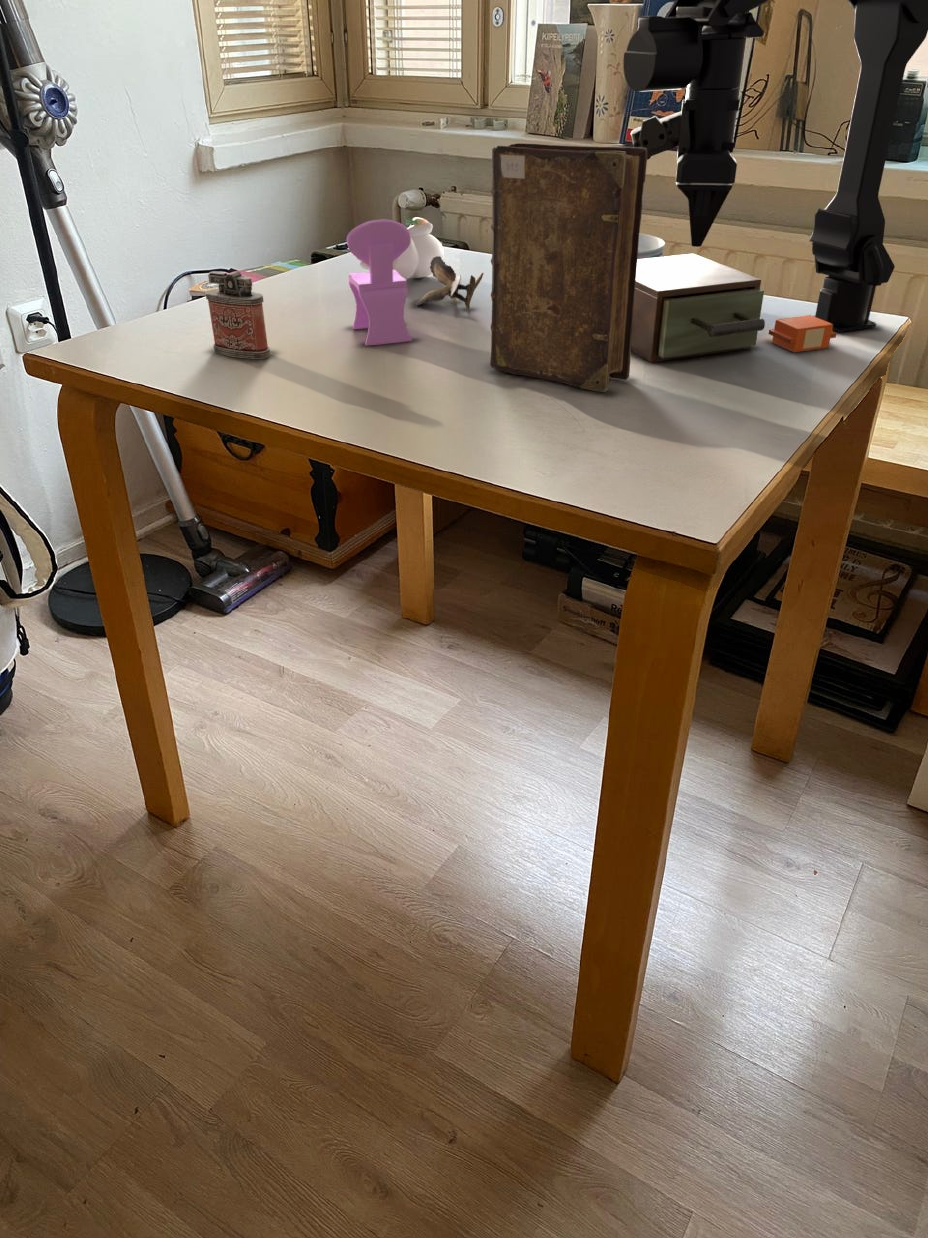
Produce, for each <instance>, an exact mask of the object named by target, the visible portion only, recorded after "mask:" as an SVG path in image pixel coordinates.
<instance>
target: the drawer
mask: <svg viewBox="0 0 928 1238" xmlns="http://www.w3.org/2000/svg"><path fill="white" fill-rule="evenodd" d="M764 295H765V290H763V289H761V288H760V289H751V290H747V288H739V289H730V290H721V291H713V292H704V293H696V294H687V295H679V296H670V297H662V298H663V301H662V310H661V320H660V330H659V339H658V349H659V353H658V356H660V357H661V358H670V357H677V356H684V355H692V354H699V353H706V352H713V351H720V350H728V349H735V348H742V347H749V346H751V347H755V346H756V345H757V339H758V334H759V333H758V332H761V331H764V329H765V326H766V323H765V320H764V319H763V318H762V317H761V314H762V308H763V302H764Z"/></svg>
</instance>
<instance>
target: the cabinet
mask: <svg viewBox="0 0 928 1238" xmlns="http://www.w3.org/2000/svg"><path fill="white" fill-rule="evenodd" d="M761 284H762V279H761V278H758V277H757V276H753V275H750V274H748V273H745V272H743V271H740V270H737V269H735V268H732V267H731V266H730V267H729V266H727V265H724V264H722V263H719V262H716V261H714V260H711V259H708V258H706V257H703V256H702V255H701V256H700V255H698V254H695V253H688V254H687V253H685V254H675V255H667V256H662V257H655V258H645V259H637V270H636V282H635V297H634V308H633V329H632V335H631V352H633V353H634V354H636V355H638V356H639V357H641V358H643V359H645V360H646V361H648V362H650V363H654V362H662V361H670V360H678V359H683V358H684V359H685V358H692V357H697V356H698V357H699V356H706V355H712V354H719V353H728V352H736V351H743V350H748V349H750V350H751V347H752V346H749V347H742V348H735V349H728V350H720V351H713V352H706V353H699V354H692V355H684V356H677V357H670V358H661V357H660V356H658V353H659V349H658V339H659V330H660V320H661V310H662V301H663V298H662V297H670V296H679V295H687V294H696V293H704V292H713V291H721V290H730V289H739V288H747V290H751V289H761Z"/></svg>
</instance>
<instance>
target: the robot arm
mask: <svg viewBox="0 0 928 1238" xmlns="http://www.w3.org/2000/svg"><path fill="white" fill-rule="evenodd" d="M846 1H847V2H848V4H849V5H850V7H851V9H852V10H853V12H854V25H853V40H854V45H855V47H856V51H857V54H858V58H859V62H860V69H859V76H858V81H857V87H856V90H855V91H856V92H855V96H854V101H853V106H852V112H851V118H850V122H849V127H848V133H847V138H846V143H845V149H844V153H843V154H844V155H843V160H842V164H841V169H840V175H839V180H838V184H837V185H838V186H837V191H836V193H835V195H834V196H833V198H832V200H830V202H829V203H828V205H827V206H826V207H825V208H817V210H816V212H815V214H814V220H813V221H814V224H813V230H812V233H811V235H810V237H809V242H811V244H812V246H811V251H812V252H811V253H812V255H813V256H814V266H815V273H816V274H819V275H820V274H822V275H826V276H824V278H823V285H822V288H821V289H820V290H819V294H818V299H817V305H816V311H815V315H813V316H814V317H816V318H819V319H821V320H824V321H826V322H829V323H831V324H833V328H832V331H833V332H836V333H837V332H838V333H841V332H849V331H856V330H857V331H858V330H864V329H871V328H876V327H877V322H874V321H872V320H870V315H871V311H872V306H873V302H874V298H875V293H876V289H877V287H880V286H882V285H883V284H886V283H887V284H888V282H889V280H890V278H891V276H892V274H893V273H894V270H895V266H896V265H895V263H894V261H893V260H892V258H891V257H890V254H889V252H888V250H887V248H886V247H885V246H884V239H885V238H884V237H885V228H886V227H885V226H886V219H885V215H884V212H883V209H882V204H881V201H880V199H879V195H880V194H879V193H880V189H881V184H882V179H883V175H884V169H885V165H886V161H887V156H888V151H889V146H890V141H891V137H892V133H893V127H894V123H895V118H896V113H897V109H898V104H899V100H900V96H901V95H900V94H901V90H902V86H903V81H904V76H905V71H906V67H907V65H908V63H909V62H910V61H911V59H912V58H913V56H914V55H915V54H916V52H917V51H918V49H919V48H920V47H921V45H922V44H923V43H924V41H925V40H926V39H927V35H928V0H846ZM768 2H770V0H674V2H673V3H672V5H671V7H670V8H669V10H668V11H667V13H666V15H665V16H661V15H640V16H639V17H638V24H637V30H636V31H635V32H634V33H633V34H632V35H631V37H630V39H629V42H628V44H627V45H626V51H624V53H623V58H622V59H623V61H622V62H623V63H622V65H623V66H622V67H623V68H622V69H623V75H624V79H625V81H626V84H627V86H628V87H629V88H630V90H632V91H633V92H636V93H640V92H641V93H643V92H644V93H645V92H657V91H658V92H659V91H676V90H683V89H686V91H685V99H682V101H681V110H680V111H678V112H675V113H672V114H670V115H667V116H663V117H661V118H659V117H658V116H657V115H653V116H652V117H650V118H647V119H643V120H642V122H641V126H638V127H636V128H634V129H632V130H631V132H630V136H631V141H632V145H633V147H643V148H647V161H648V160H650V159H651V158H652V157H653V156H656V155H658V154H661V153H664V152H666V151H669V150H673V149H674V148H677V153H676V173H675V185H676V188H677V189H678V190H679V191H681V192H682V193H683V195H684V196H685V197H686V198H687V202H688V214H689V229H690V230H689V231H690V245H691V247H694V248H695V247H696V248H697V247H698V248H700V247H702V245H703V244H704V241H705V239H706V238H707V235H708V234H709V231H710V230H711V228H712V226H713V224H714V222H715V220H716V218H717V216H718V214H719V213H720V211H721V209H722V206H723V205H724V203H725V201H726V199H727V197H728V195H729V193H730V192H731V190H732V188H733V185H734V184H735V182H736V175H737V169H738V163H737V160H736V158H735V157H734V155H733V154H732V153H734V146H735V141H734V138H735V131H736V130H735V129H736V122H737V113H738V111H739V110H740V109H739V108H740V92H741V91H740V90H741V82H742V74H743V66H744V58H745V51H746V43H747V39H760V38H763V37H764V34H765V31H764V29H763V28H762V26H761V25H760V24H759V22H757V20H756V19H755V17H754V15H753V13H752V12H751V11H752V10H754V9H756V8H758V7H760V6H762V5H764V4H766V3H768Z"/></svg>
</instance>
